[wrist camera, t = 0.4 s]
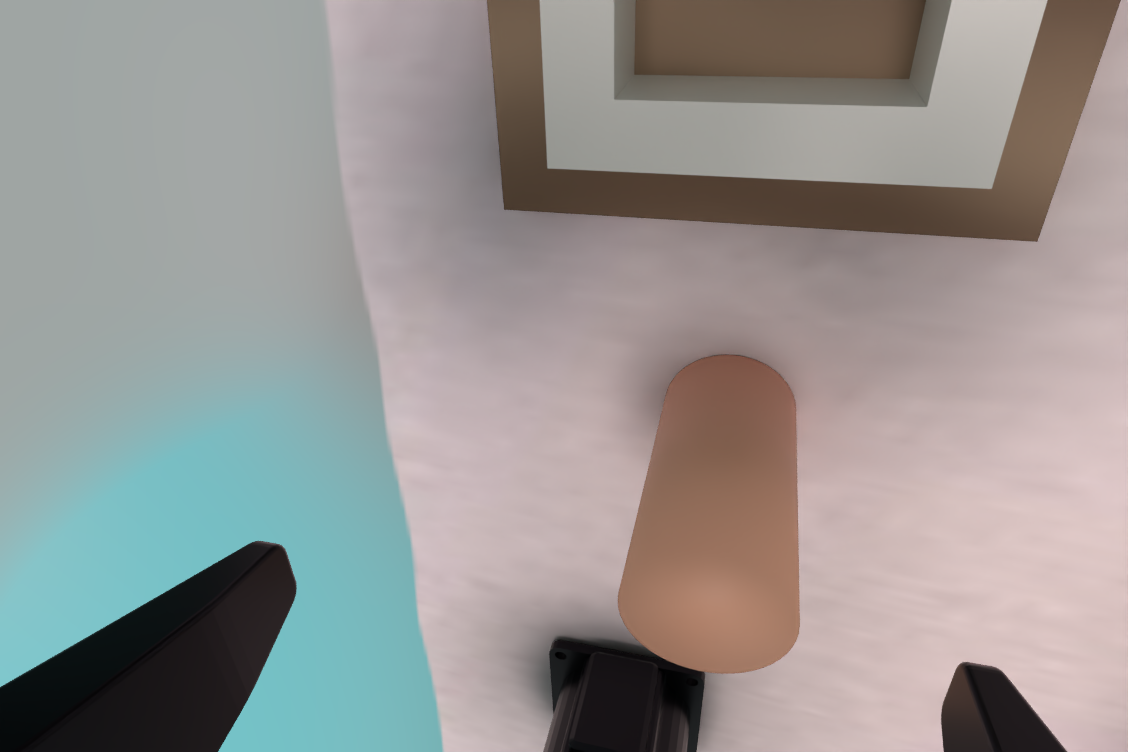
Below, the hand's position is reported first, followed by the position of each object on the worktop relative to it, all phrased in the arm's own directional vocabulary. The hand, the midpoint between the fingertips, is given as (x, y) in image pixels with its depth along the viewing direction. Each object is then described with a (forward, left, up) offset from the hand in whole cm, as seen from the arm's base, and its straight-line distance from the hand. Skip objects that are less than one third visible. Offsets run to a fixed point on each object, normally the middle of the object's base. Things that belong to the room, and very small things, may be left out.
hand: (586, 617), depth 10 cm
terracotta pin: (-6, -2, -13) cm, 14 cm away
